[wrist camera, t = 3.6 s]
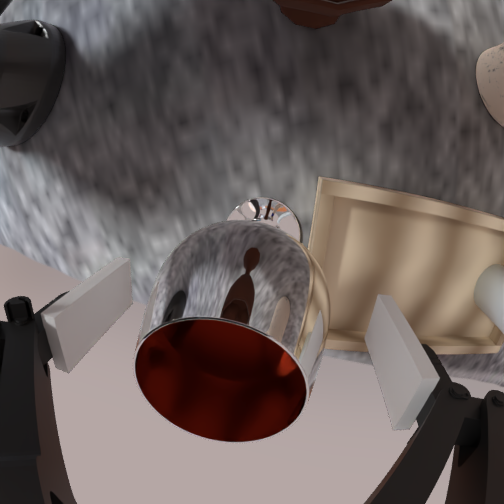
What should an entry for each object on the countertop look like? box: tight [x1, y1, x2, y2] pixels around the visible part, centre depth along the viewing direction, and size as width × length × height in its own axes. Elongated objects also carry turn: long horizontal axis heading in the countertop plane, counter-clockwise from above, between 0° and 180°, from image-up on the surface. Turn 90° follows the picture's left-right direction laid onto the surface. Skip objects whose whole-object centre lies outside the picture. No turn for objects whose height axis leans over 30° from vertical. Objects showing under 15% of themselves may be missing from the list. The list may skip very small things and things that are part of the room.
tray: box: [308, 176, 504, 354], centre depth 24 cm, size 24×14×3 cm, turn 84°
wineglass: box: [133, 197, 331, 443], centre depth 17 cm, size 8×8×18 cm
